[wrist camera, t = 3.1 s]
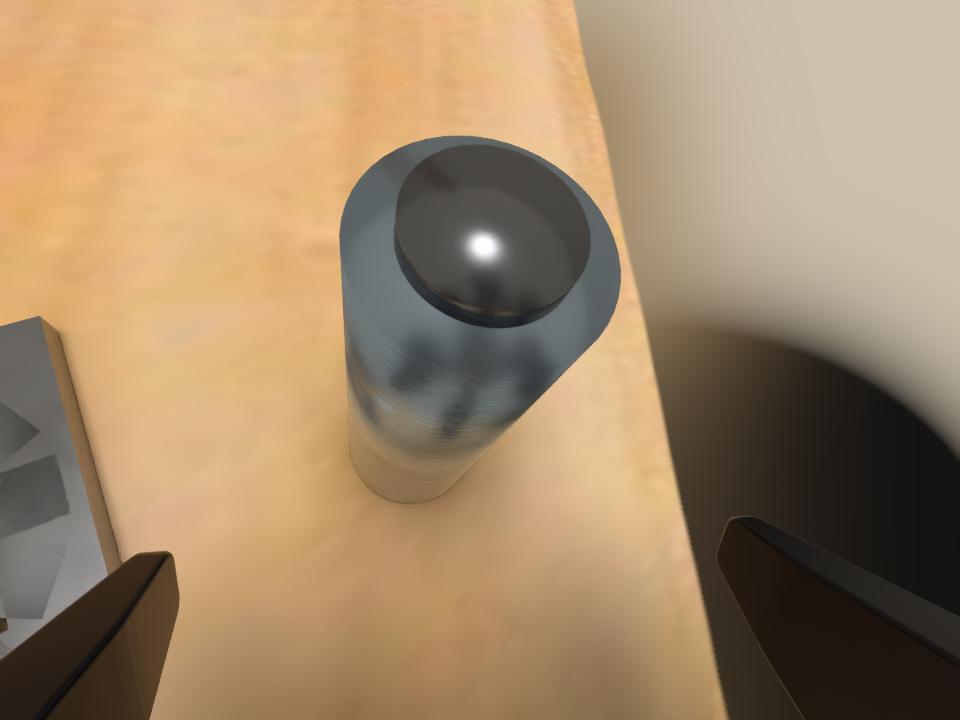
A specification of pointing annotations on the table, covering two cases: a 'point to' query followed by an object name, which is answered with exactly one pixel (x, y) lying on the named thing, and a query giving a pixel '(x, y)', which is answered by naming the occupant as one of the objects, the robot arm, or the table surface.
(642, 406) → the table surface
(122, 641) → the robot arm
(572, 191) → the thermos bottle
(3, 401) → the square metal washer
